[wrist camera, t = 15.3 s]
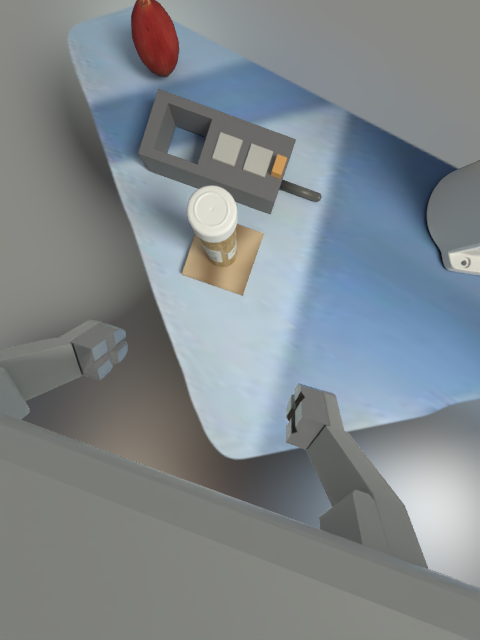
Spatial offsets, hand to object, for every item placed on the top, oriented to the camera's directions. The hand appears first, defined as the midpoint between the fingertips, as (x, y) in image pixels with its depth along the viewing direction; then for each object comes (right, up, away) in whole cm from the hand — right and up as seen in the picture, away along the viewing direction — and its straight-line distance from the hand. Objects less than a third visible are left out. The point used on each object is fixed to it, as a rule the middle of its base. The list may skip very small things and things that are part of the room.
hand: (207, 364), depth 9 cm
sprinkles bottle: (-1, +12, +22) cm, 25 cm away
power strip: (+1, +25, +22) cm, 34 cm away
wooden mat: (-1, +12, +23) cm, 26 cm away
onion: (-10, +40, +22) cm, 46 cm away
